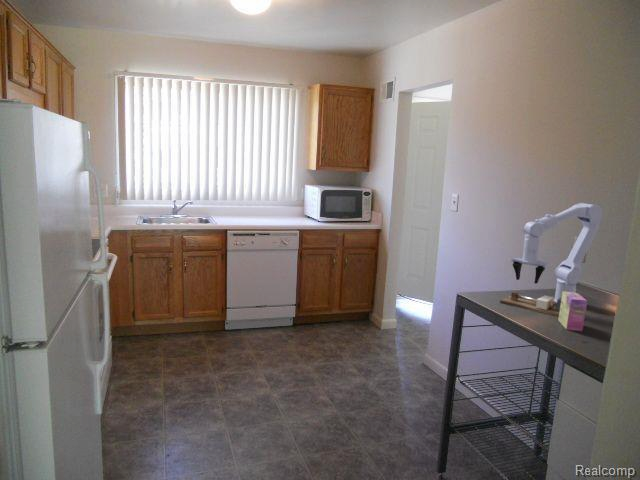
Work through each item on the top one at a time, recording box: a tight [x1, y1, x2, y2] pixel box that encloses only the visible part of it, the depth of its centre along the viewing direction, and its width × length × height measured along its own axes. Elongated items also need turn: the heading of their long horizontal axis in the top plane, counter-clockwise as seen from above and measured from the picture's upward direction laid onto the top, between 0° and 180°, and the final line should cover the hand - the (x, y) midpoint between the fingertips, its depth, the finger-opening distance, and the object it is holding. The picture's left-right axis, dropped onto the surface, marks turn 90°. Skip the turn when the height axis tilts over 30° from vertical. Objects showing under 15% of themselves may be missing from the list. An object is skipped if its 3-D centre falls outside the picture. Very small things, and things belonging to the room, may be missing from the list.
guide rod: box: [517, 294, 557, 307], centre depth 198 cm, size 1×19×1 cm, turn 48°
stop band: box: [549, 300, 555, 308], centre depth 195 cm, size 3×1×3 cm, turn 138°
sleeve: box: [536, 295, 555, 310], centre depth 196 cm, size 9×4×3 cm, turn 138°
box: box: [557, 291, 588, 332], centre depth 177 cm, size 10×6×12 cm, turn 168°
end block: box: [556, 297, 562, 312], centre depth 192 cm, size 4×3×5 cm
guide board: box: [499, 290, 559, 318], centre depth 199 cm, size 11×26×4 cm, turn 48°
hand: (526, 281), depth 204 cm, fingers open, 7 cm apart
